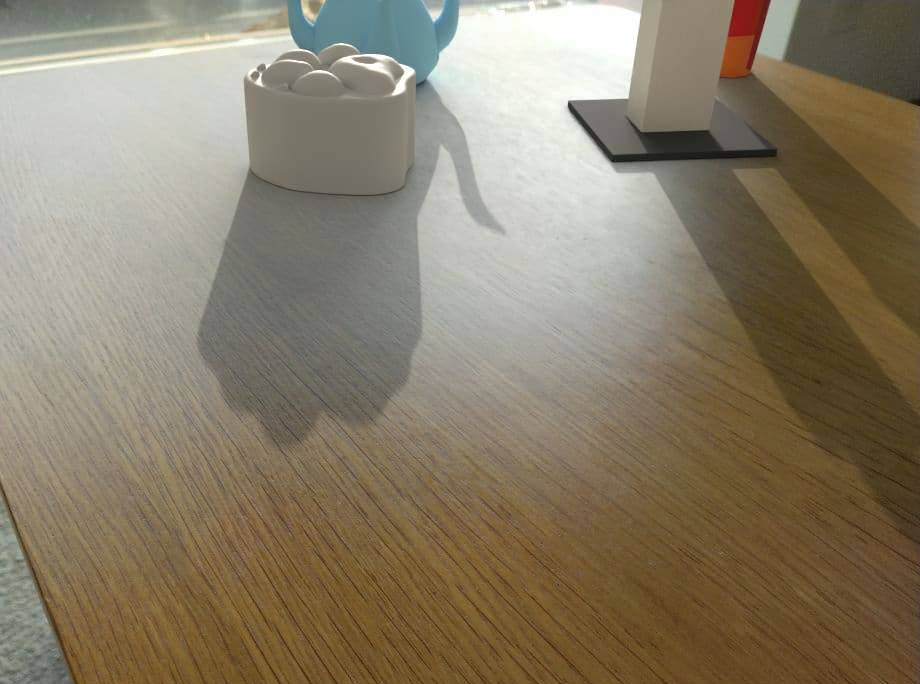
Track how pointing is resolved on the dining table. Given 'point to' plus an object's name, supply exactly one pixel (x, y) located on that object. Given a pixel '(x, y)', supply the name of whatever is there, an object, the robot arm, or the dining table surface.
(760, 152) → the mat
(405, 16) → the teapot
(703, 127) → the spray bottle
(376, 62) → the lumpy-topped squat cylinder
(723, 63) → the paper cup
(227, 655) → the dining table surface
